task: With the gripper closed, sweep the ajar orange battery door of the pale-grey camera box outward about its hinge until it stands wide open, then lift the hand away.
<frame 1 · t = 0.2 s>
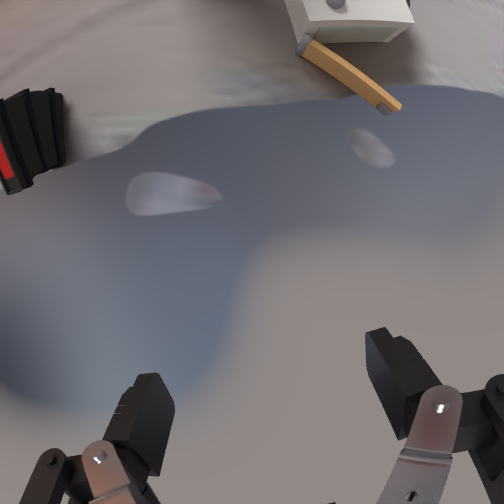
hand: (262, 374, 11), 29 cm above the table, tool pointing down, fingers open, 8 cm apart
camera body: (336, 15, 29), on the table
magazine: (57, 137, 34), on the table
side door: (347, 76, 30), point 3 cm above the table, hinge at 45.0°
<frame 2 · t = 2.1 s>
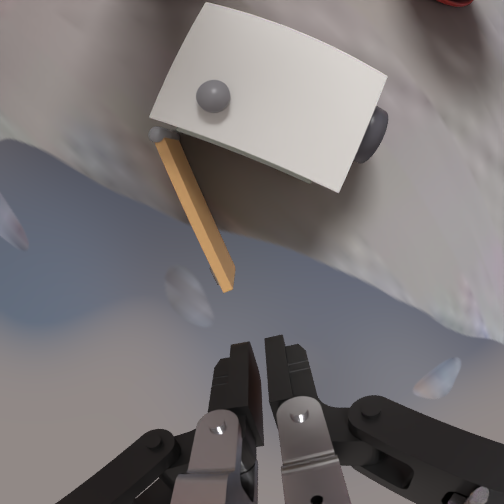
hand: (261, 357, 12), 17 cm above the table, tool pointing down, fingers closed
camera body: (265, 106, 24), on the table
side door: (193, 206, 24), point 3 cm above the table, hinge at 45.0°
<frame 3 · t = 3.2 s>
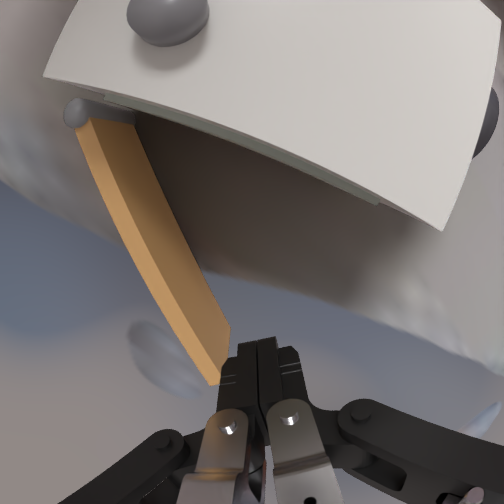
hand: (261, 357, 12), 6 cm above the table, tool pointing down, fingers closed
camera body: (279, 66, 13), on the table
side door: (154, 240, 13), point 3 cm above the table, hinge at 45.0°
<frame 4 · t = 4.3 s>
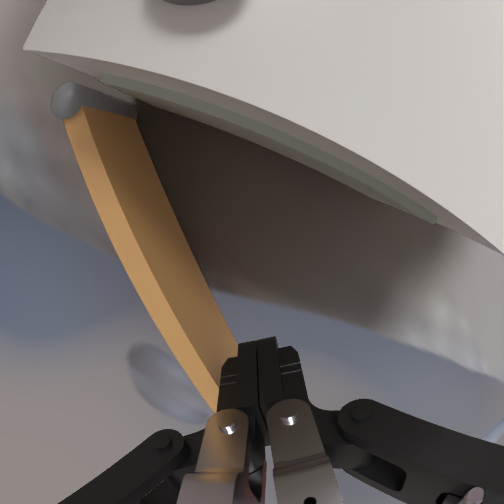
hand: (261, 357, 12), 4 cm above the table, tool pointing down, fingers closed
camera body: (306, 56, 11), on the table
side door: (158, 257, 11), point 3 cm above the table, hinge at 45.5°, touching gripper
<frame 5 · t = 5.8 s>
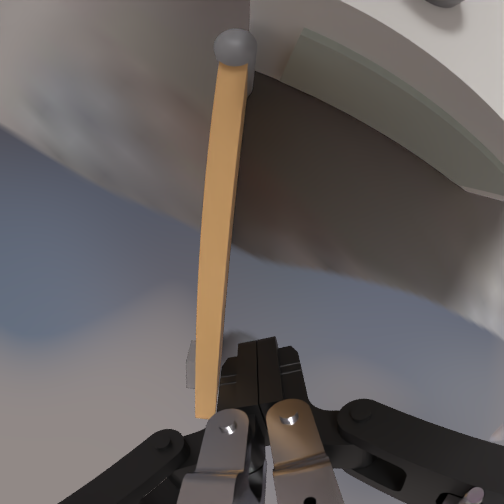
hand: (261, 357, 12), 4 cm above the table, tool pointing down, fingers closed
camera body: (404, 57, 11), on the table
side door: (213, 239, 11), point 3 cm above the table, hinge at 73.4°, touching gripper
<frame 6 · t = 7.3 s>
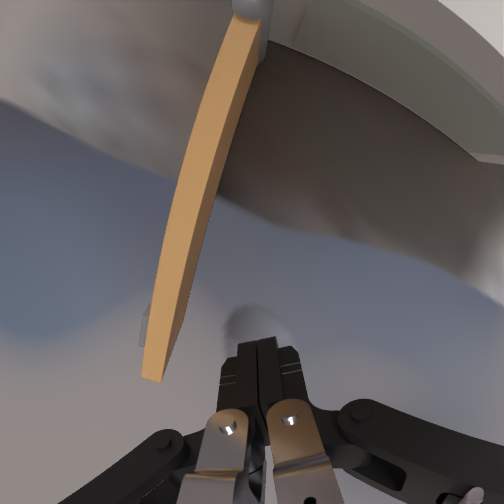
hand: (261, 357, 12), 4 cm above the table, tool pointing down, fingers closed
camera body: (411, 30, 10), on the table
side door: (194, 190, 11), point 3 cm above the table, hinge at 85.2°
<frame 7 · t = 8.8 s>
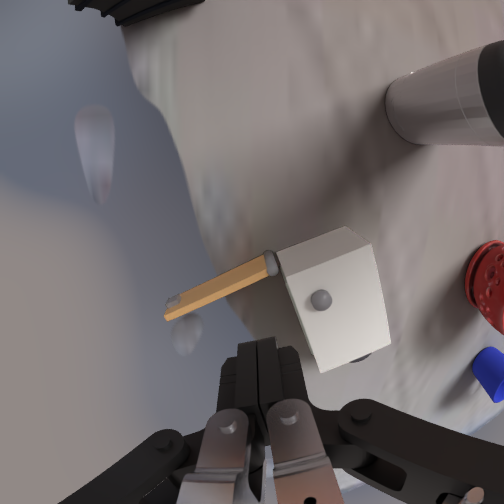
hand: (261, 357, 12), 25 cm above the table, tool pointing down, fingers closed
camera body: (326, 285, 38), on the table
magazine: (153, 8, 27), on the table
plant pot: (482, 269, 39), on the table
mug: (484, 361, 45), on the table
side door: (219, 284, 34), point 3 cm above the table, hinge at 85.2°
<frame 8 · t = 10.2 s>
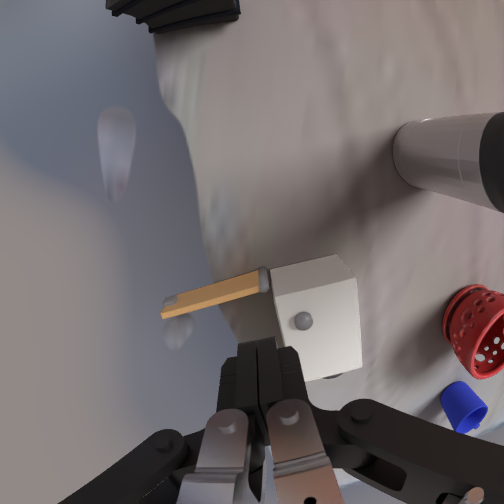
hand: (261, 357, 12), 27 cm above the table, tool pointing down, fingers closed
camera body: (311, 304, 41), on the table
magazine: (187, 19, 29), on the table
plant pot: (462, 309, 42), on the table
mug: (453, 393, 49), on the table
side door: (214, 292, 38), point 3 cm above the table, hinge at 85.2°
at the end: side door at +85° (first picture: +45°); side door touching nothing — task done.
